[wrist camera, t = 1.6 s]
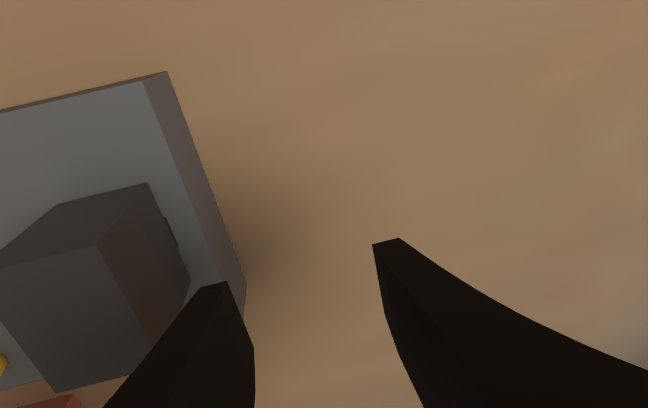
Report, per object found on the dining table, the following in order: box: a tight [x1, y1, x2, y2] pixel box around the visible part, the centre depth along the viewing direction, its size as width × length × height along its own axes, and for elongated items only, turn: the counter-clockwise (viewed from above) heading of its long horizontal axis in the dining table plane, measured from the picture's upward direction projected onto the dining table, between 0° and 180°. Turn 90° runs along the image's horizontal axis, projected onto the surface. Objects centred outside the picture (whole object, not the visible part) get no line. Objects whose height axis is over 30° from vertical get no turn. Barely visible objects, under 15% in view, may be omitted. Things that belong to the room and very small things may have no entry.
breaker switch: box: [0, 182, 191, 393], centre depth 11 cm, size 4×3×4 cm
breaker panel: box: [0, 71, 246, 390], centre depth 14 cm, size 10×11×4 cm
